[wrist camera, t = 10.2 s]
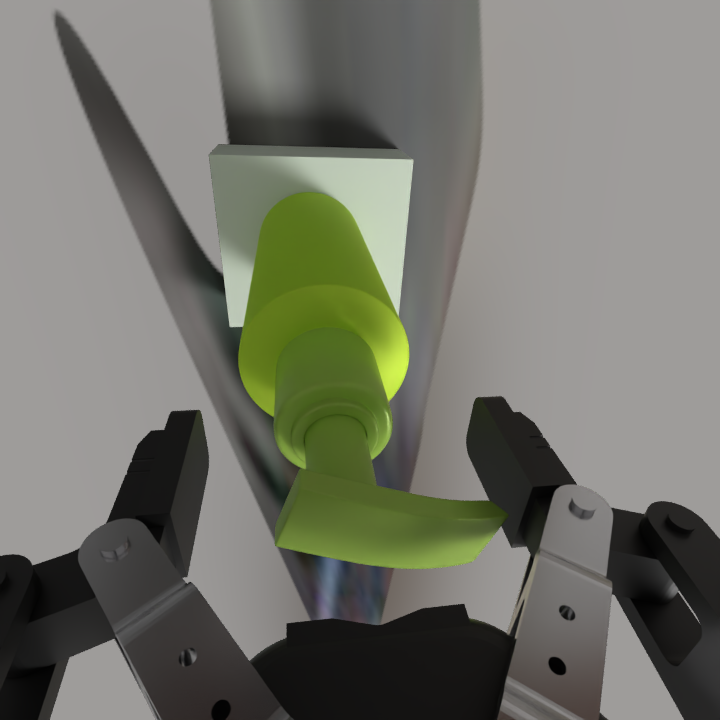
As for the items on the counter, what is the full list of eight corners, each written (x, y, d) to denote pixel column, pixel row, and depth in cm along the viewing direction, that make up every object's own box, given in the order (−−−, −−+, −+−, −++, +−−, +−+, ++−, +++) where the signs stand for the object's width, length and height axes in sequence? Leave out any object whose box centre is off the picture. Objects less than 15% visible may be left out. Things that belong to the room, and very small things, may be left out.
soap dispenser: (355, 306, 29) (445, 623, 13) (247, 274, 27) (182, 600, 10) (391, 219, 27) (568, 472, 10) (275, 175, 25) (248, 400, 8)
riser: (218, 144, 27) (208, 154, 24) (398, 149, 28) (413, 159, 25) (235, 300, 32) (229, 326, 29) (386, 297, 34) (397, 322, 30)
